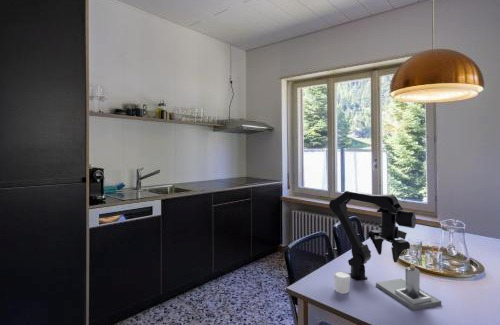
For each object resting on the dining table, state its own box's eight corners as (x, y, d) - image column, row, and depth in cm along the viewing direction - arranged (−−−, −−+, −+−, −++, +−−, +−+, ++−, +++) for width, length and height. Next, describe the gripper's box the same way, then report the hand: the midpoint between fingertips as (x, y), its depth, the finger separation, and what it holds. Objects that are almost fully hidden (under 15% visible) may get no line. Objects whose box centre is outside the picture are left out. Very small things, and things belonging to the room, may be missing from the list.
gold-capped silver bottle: (404, 297, 115) (404, 264, 115) (406, 291, 119) (406, 260, 119) (419, 300, 112) (419, 267, 112) (420, 295, 116) (420, 262, 116)
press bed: (375, 285, 127) (376, 280, 127) (400, 281, 132) (401, 276, 131) (413, 310, 108) (413, 303, 108) (441, 304, 112) (441, 298, 112)
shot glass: (346, 286, 127) (347, 271, 127) (352, 294, 120) (353, 278, 120) (331, 286, 127) (331, 271, 126) (336, 294, 120) (337, 278, 120)
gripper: (421, 227, 119) (419, 264, 119) (387, 217, 136) (386, 249, 137) (399, 229, 115) (398, 267, 116) (367, 218, 133) (367, 251, 134)
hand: (387, 258), depth 126 cm, fingers open, 9 cm apart
